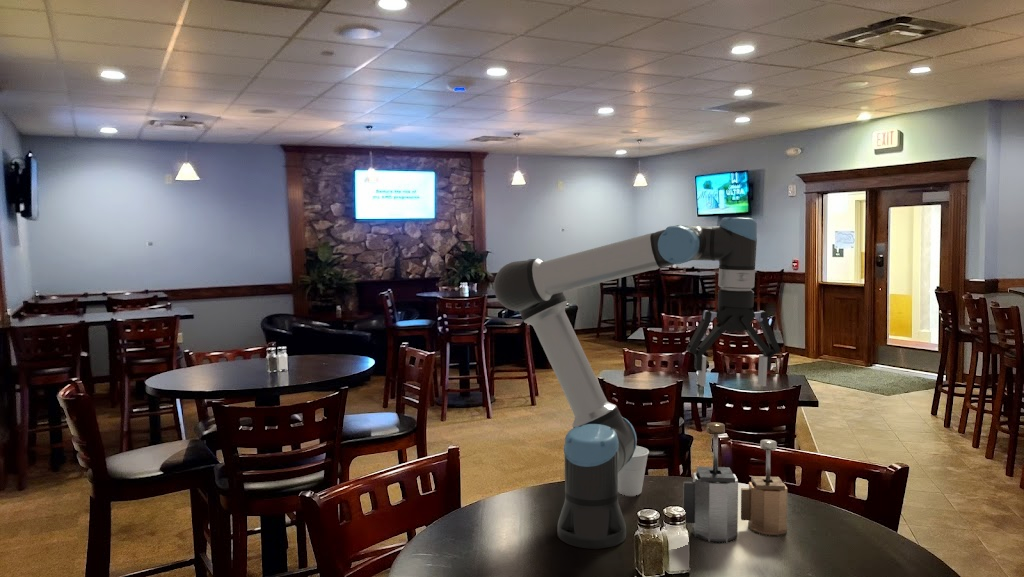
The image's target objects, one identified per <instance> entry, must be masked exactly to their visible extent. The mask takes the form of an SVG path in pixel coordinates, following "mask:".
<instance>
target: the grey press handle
mask: <svg viewBox="0 0 1024 577" xmlns="http://www.w3.org/2000/svg"><path fill="white" fill-rule="evenodd" d="M759 445H760V449H762V450H765V457H766V458H765V477H766V481H767V482H770V477H771V451H776V450H777V445H778V442H777V441H776V440H772V439H761V440H760V444H759ZM754 487H755V486H754ZM767 491H779V490H767Z"/></svg>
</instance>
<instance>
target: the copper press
mask: <svg viewBox="0 0 1024 577" xmlns="http://www.w3.org/2000/svg"><path fill="white" fill-rule="evenodd" d="M750 477H751V481H749V482H748V488H743V487H742V488H740V520H741V521H748V523H747V528H748V530H749V531H751V533H754V534H756V535H759V536H763V537H774V538H775V537H781V536H785V535H786V534H787V533H788V487H787V486H786V484H785V483H783V481H782V479H781V478H780V477H779V476H770V482H767V481H766V476H757V475H756V476H755V475H751V476H750ZM754 486H755V487H754ZM767 490H779V491H767Z"/></svg>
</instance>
